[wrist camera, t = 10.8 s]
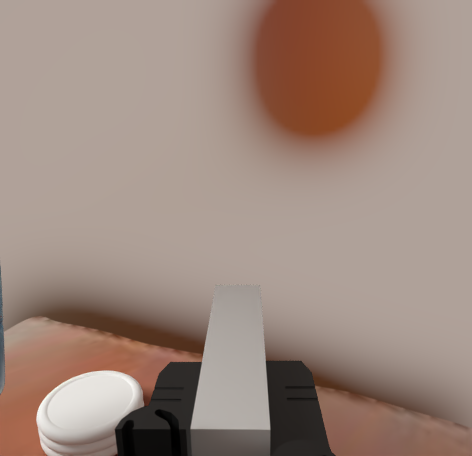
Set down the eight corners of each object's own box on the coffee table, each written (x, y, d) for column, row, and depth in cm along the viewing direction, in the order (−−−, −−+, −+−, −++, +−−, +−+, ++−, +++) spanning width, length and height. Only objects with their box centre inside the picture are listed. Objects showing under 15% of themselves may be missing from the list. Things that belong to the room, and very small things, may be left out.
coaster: (87, 387, 49) (83, 361, 48) (163, 406, 46) (160, 378, 45) (17, 452, 40) (11, 421, 39) (105, 481, 37) (101, 449, 36)
